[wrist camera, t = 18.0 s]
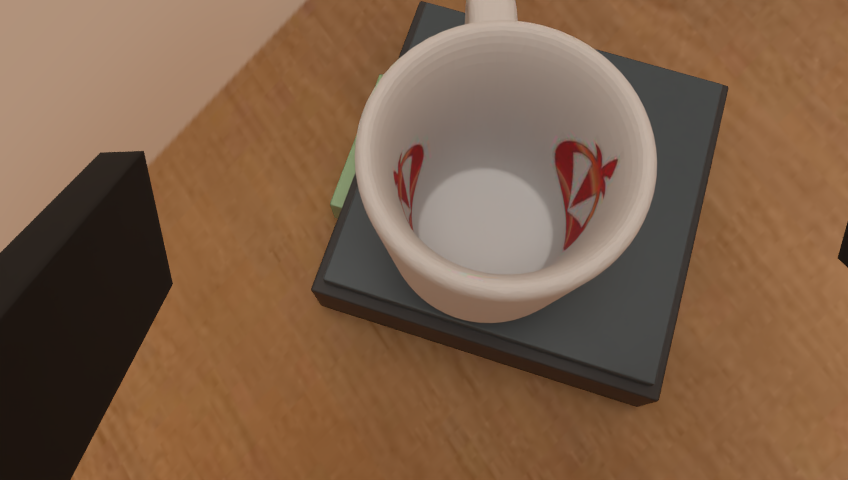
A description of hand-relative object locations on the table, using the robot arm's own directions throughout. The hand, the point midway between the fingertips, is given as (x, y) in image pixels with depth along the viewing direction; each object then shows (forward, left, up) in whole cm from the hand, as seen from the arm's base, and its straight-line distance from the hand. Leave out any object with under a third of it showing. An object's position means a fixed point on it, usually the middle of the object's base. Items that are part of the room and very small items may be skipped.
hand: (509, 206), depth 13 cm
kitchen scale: (+1, +6, -16) cm, 17 cm away
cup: (-1, +5, -13) cm, 14 cm away
